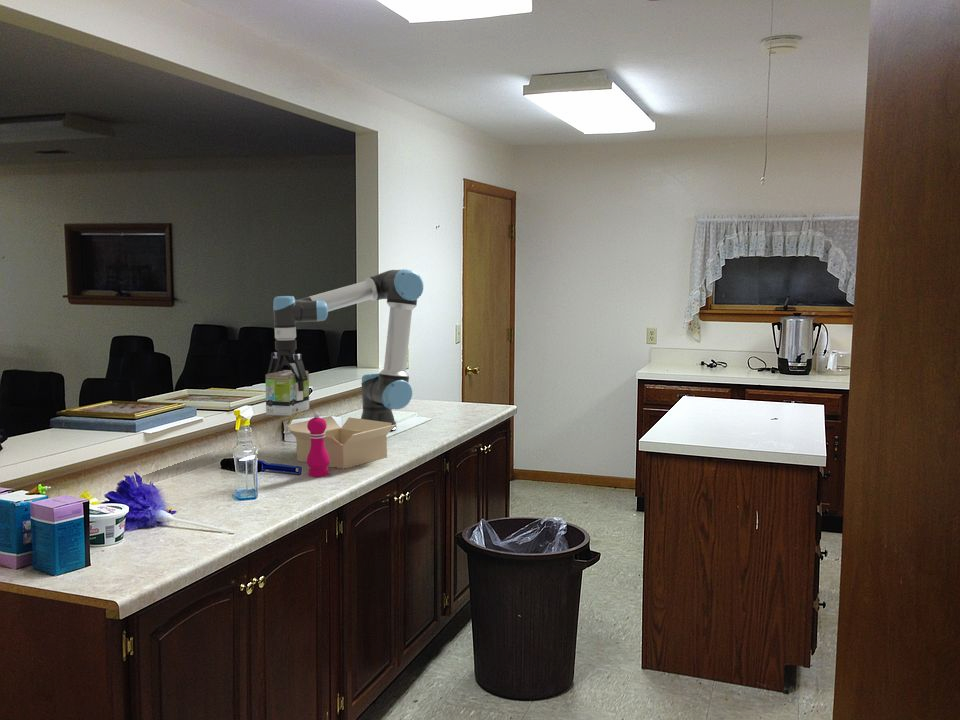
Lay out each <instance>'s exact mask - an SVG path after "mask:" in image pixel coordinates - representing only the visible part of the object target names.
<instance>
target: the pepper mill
mask: <svg viewBox="0 0 960 720" xmlns="http://www.w3.org/2000/svg"><path fill="white" fill-rule="evenodd" d="M322 418H323V417H320V413H319V412H315V413H314V414H313V417H312V418H310V419H309V420H307V421H308V424H307V428H308V430H309V431H310V433H309V435H310V436H309V438H311V448H310V451H309V454H308V457H307V462H306V465H307V466H308V467H309V469H308V476H309V477H312V478H322V476H323V477H326V475H327V476H328V475H330V470H329V468H328V467H329V466H328V465H329V463H330V458H329V455H328V453H327V450H326V448H325V445H324V437H325V432H324V431H325V429H326V427H327V425H326V421H325V420H324V419H322Z"/></svg>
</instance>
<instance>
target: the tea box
mask: <svg viewBox="0 0 960 720" xmlns="http://www.w3.org/2000/svg"><path fill="white" fill-rule="evenodd" d="M305 371H306V375H307V378H308V380H306V381H304V382H303V386H304V390H303V400H299V401H296V386H295V383H296V379H295V374H294V373H292V371H291V369H283V370H281V371H279V372H274V373H270V374H268V373H266V374H265V415H270V416H292V415H294V414H296V413H300V412H305V411H308V410H310V379H309V378H310V377H309V376H310V375H309V373H310V372H309V370H305ZM299 379H300V378H299Z"/></svg>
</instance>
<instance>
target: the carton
mask: <svg viewBox="0 0 960 720" xmlns="http://www.w3.org/2000/svg"><path fill="white" fill-rule="evenodd" d="M321 418H322V419H324V420H325V421H326V425H327V427H326V429H325V431H324V432H325V437H324V445H325V448H326V450H327V453H328V455H329V458H330V463H329V465H328V466H327V467H330V468H335V467H337V468H336V469H340V468H343V469H342V470H345V469H344V468H346V469H349V468H348V467H350V468H353V467H356V465H357V466H360V465H364V464H368V463H370V462H374V460H375V461H378V460H382V459H386V458H388V449H387V448H388V446H387V445H388V444H387V435H388V434H389V433H390V432H392V431H391V430H392V429H393V428H394V427H395V426H396V427H397V423H396V424H395V425H391V424H392V423H388V422H381V421H373V420H365V419H361V418H356V417H350V416H349V417H348V418H347V420H346V421H345V422H344V423H343V425H342V426H340V425H339V424H338V423H337V422H336V420H335V418H333V416H332V415H329V416H324V417H321ZM308 421H309V420H305V421H299V422H294V423H290V424H286V426H287V428H288V429H289V430H288V432H289V433H290V434H292V435H293V436H294V437H295V439H296V461H297V462H302V463H307V457H308V454H309V451H310V448H311V438H309V436H310V435H309V433H310V431H309V430H308V428H307V424H308ZM385 457H386V458H385ZM381 458H382V459H381ZM367 462H368V463H367ZM359 464H360V465H359ZM352 466H353V467H352Z"/></svg>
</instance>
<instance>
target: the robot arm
mask: <svg viewBox="0 0 960 720" xmlns="http://www.w3.org/2000/svg"><path fill="white" fill-rule="evenodd" d="M423 292H424V281H423V279H422V277H421V276H420V274H418V273H417V272H416V271H414V270H411V269H406V268H405V269H404V268H403V269H389V270H386V271H384V272H381V273H378V274H375V275H372V276H368V277H366V278H365V280H364V281H361V282H357V283H353V284H349V285H346V286H342V287H339V288H334V289H332V290H328V291H325V292H320V293H318V294H314V295H310V296H307V297H303V298H299V299H296V298H295V296H293V295H283V296H281V295H280V296H279V295H278V296H275V297H274V298H273V303H272V304H273V306H272V308H273V309H272V310H273V320H274V321H273V323H274V326H273V327H274V339H275V341H274V349H275V351H274V352H271V353H270V357H271V358H270V361H269V366H268V370H267V374H270V373H274V372H279V371H283V367H284V366H287V367H288V368H289V370H291V371H292V373H294V374H295V379H296V383H295V386H296V401H299V400H303V390H304V386H303V382H304V381H306V380H308V378H307V375H306V371H307V370H306V369H305V365H304V362H303V358H302V357H303V356H302V353H296V350H297V348H298V347H297V339H296V338H297V328H296V327H297V326H296V325H297V324H296V323H305V322H306V323H307V322H309V323H310V322H324V321H326V320H327V318H328V315H329V312H332V311H335V310H338V309H341V308H346V307H349V306H352V305H356V304H359V303H362V302H367V301H369V300H371V301H372V302H375V301H378V300H379V301H380V300H386V304H387V306H388V307H389V316H388V325H387V333H386V334H387V335H386V344H385V355H384V364H383V368H382V370H381V371H380V372H378V373H369V374H364V375H362V377H361V382H360V383H361V395H362V396H361V397H362V398H361V399H362V400H361V401H362V402H361V403H362V413H361V417H360V419H365V420H373V421H381V422H388V423H392V424H391V425H395V424H396V426H395V427H396V428H397V421H396V420H395V417H394V414H393V410H401V409H404V408H405V407H406V406H408V404H410V403H411V400H412V397H413V389H412V386H411V385H410V383H409V381H410V375H409V374H408V372H407V362H408V361H407V360H408V351H409V342H410V332H411V324H412V323H411V322H412V316H413V315H412V314H413V310H414V308H416V307H417V306H418V305H417V304H418V299H419V298H420V297H422V295H423ZM299 378H300V379H299Z"/></svg>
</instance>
